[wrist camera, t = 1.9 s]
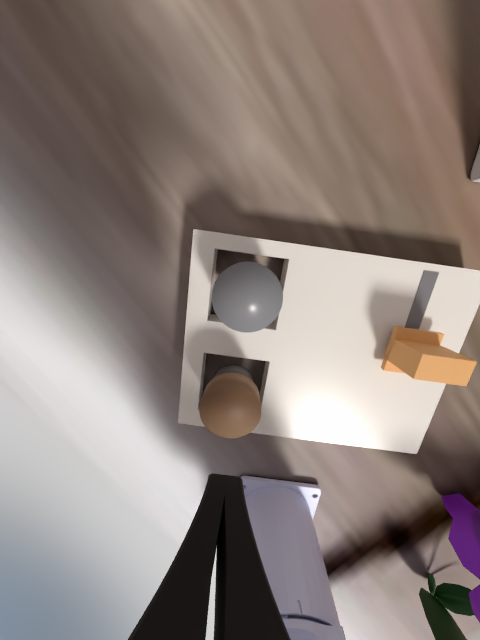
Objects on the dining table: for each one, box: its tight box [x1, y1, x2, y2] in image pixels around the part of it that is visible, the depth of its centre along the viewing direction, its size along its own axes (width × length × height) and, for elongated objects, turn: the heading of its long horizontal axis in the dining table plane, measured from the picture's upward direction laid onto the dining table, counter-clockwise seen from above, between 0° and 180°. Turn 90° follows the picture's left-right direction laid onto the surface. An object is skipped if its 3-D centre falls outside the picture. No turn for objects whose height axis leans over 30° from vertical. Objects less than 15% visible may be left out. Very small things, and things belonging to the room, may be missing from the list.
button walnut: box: [199, 365, 261, 438], centre depth 17 cm, size 4×4×4 cm
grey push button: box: [212, 261, 283, 333], centre depth 15 cm, size 4×4×4 cm
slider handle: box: [381, 326, 477, 386], centre depth 15 cm, size 3×3×3 cm
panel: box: [178, 229, 480, 454], centre depth 18 cm, size 15×20×2 cm
